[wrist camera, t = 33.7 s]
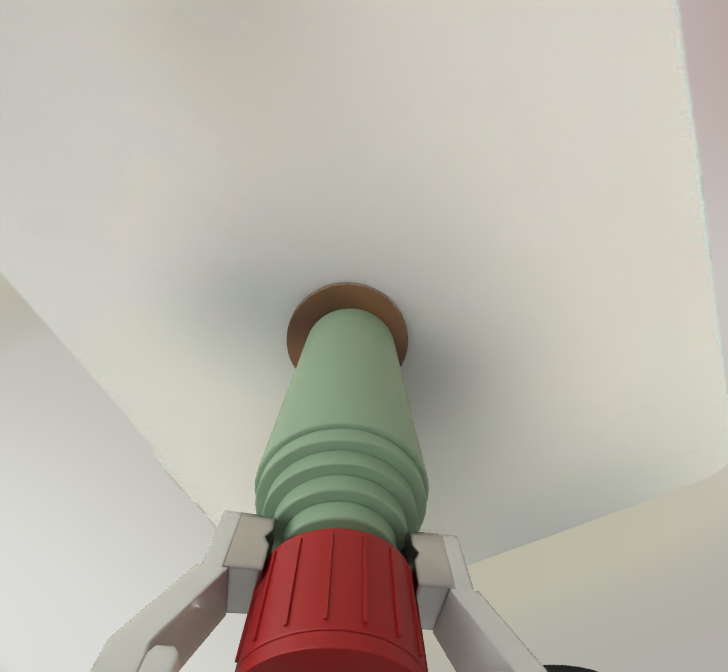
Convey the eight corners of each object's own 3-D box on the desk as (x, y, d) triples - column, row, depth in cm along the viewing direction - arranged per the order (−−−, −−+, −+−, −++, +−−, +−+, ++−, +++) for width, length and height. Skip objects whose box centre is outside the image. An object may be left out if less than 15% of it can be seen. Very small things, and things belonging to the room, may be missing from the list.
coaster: (393, 398, 27) (394, 403, 27) (283, 383, 26) (281, 388, 26) (418, 293, 24) (420, 295, 23) (293, 272, 23) (292, 275, 23)
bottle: (390, 392, 26) (447, 750, 9) (305, 387, 26) (201, 745, 9) (399, 311, 24) (497, 585, 7) (306, 304, 24) (173, 572, 7)
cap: (265, 517, 9) (230, 637, 6) (429, 536, 9) (454, 657, 7) (254, 624, 10) (222, 754, 8) (395, 637, 11) (407, 766, 8)
